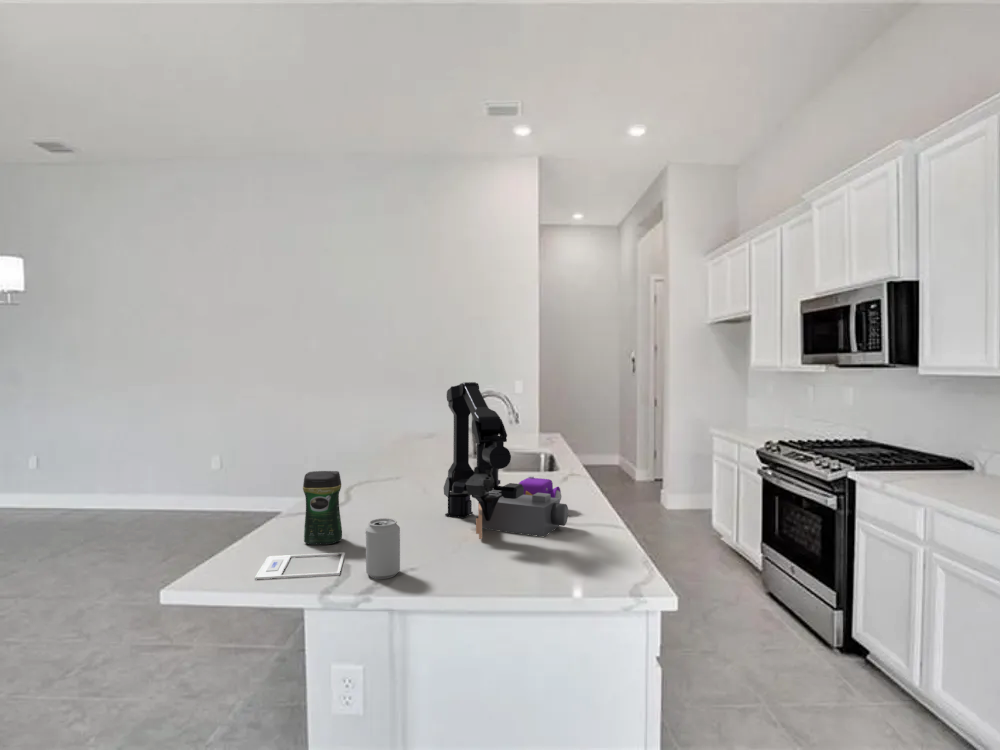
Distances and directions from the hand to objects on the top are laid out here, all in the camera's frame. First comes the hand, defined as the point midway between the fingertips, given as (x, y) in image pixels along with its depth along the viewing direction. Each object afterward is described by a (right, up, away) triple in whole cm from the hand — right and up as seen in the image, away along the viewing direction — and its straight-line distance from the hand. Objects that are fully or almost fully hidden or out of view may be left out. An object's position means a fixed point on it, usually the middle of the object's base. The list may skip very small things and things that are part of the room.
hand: (488, 520), depth 163 cm
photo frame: (-43, -6, -21) cm, 48 cm away
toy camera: (+16, -4, +32) cm, 36 cm away
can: (-23, -6, -26) cm, 35 cm away
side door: (-3, -4, +4) cm, 6 cm away
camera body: (+10, -5, +11) cm, 16 cm away
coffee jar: (-44, -5, -2) cm, 44 cm away
